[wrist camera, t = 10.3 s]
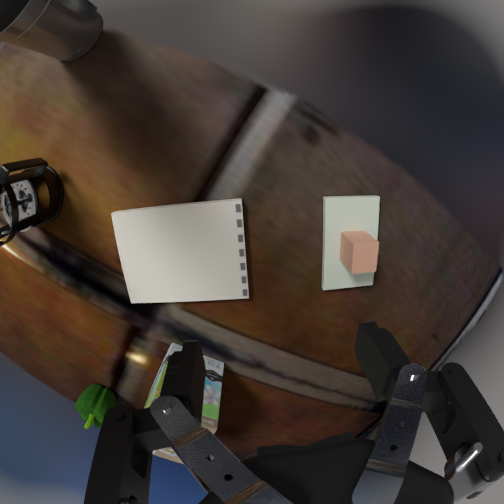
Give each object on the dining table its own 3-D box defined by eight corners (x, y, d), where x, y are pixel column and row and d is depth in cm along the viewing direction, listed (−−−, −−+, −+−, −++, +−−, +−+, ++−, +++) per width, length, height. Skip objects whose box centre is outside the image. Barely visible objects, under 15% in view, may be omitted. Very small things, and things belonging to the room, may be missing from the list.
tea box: (170, 339, 45) (149, 406, 31) (225, 361, 46) (221, 430, 33) (149, 389, 49) (130, 448, 35) (195, 407, 51) (187, 467, 37)
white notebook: (133, 299, 42) (131, 303, 40) (114, 211, 37) (110, 213, 35) (248, 294, 42) (248, 298, 40) (241, 198, 37) (241, 200, 36)
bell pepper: (100, 374, 48) (83, 408, 38) (127, 399, 50) (114, 434, 41) (79, 382, 49) (62, 414, 40) (105, 406, 52) (92, 438, 42)
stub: (321, 287, 42) (332, 308, 36) (323, 196, 37) (337, 205, 31) (370, 282, 42) (386, 301, 36) (376, 195, 37) (396, 204, 31)
